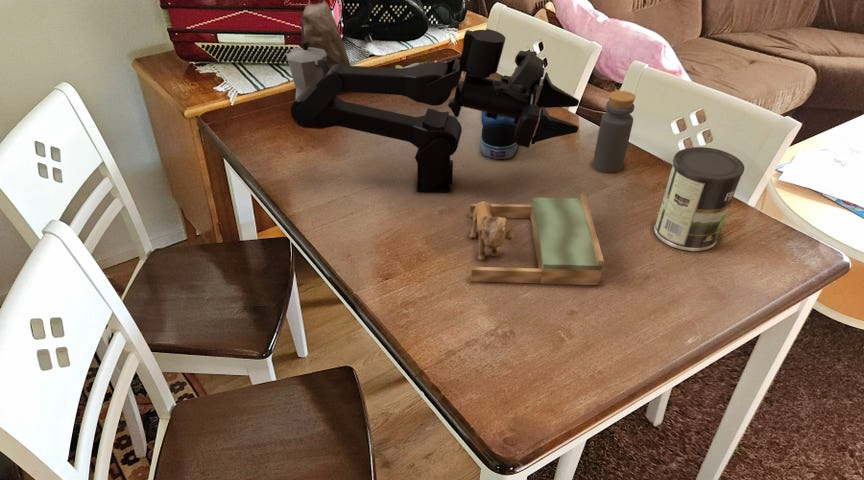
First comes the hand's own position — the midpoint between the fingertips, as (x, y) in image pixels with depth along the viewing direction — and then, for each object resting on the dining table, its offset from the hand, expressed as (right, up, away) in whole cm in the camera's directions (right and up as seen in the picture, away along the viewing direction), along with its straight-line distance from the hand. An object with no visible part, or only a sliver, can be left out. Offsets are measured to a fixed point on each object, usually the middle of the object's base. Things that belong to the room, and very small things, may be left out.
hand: (578, 116), depth 108 cm
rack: (-9, -23, -2) cm, 25 cm away
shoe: (-7, +5, +32) cm, 33 cm away
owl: (-48, +20, +53) cm, 74 cm away
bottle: (+12, -6, +18) cm, 22 cm away
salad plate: (-24, +22, +54) cm, 63 cm away
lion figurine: (-16, -23, -1) cm, 28 cm away
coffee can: (+18, -21, 0) cm, 28 cm away
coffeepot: (-50, +9, +41) cm, 65 cm away
